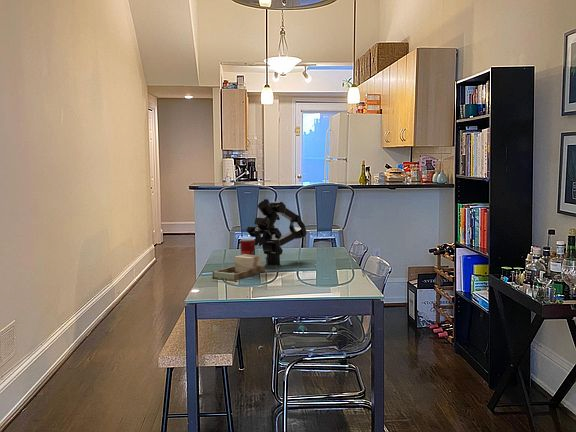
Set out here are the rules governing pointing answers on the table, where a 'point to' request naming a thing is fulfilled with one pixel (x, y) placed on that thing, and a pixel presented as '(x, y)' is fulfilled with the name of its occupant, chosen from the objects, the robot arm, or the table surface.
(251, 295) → the table surface
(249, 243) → the canned food
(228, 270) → the channel
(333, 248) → the table surface
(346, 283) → the table surface
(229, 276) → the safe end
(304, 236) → the robot arm
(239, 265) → the birch block
